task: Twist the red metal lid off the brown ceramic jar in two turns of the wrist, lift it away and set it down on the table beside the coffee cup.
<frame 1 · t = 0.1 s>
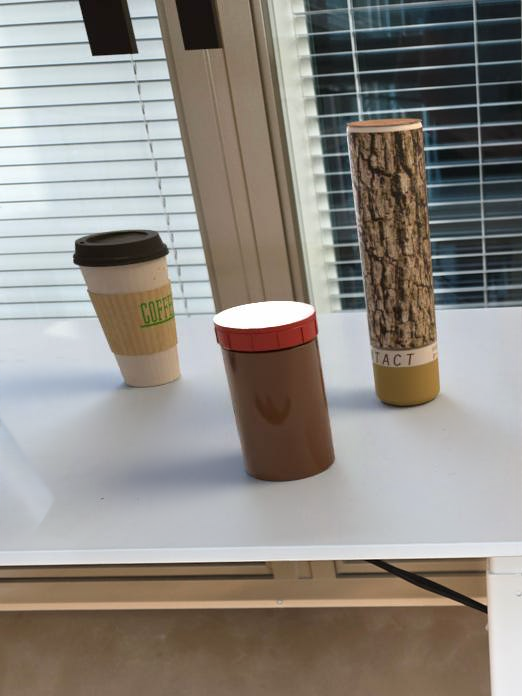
hand: (164, 52, 60), 31 cm above the table, tool pointing down, fingers open, 13 cm apart
paper tube: (408, 398, 93), on the table
lid: (265, 319, 73), point 13 cm above the table, screwed on, not yet turned
jar: (290, 462, 80), on the table
coffee cup: (153, 379, 102), on the table
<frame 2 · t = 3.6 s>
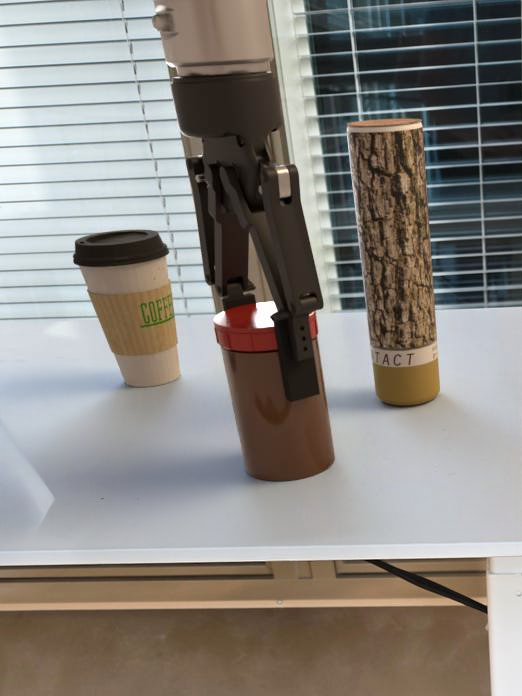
hand: (277, 384, 76), 7 cm above the table, tool pointing down, fingers closed on lid, 8 cm apart
lid: (265, 319, 73), point 13 cm above the table, screwed on, not yet turned, touching gripper
everything else where it was.
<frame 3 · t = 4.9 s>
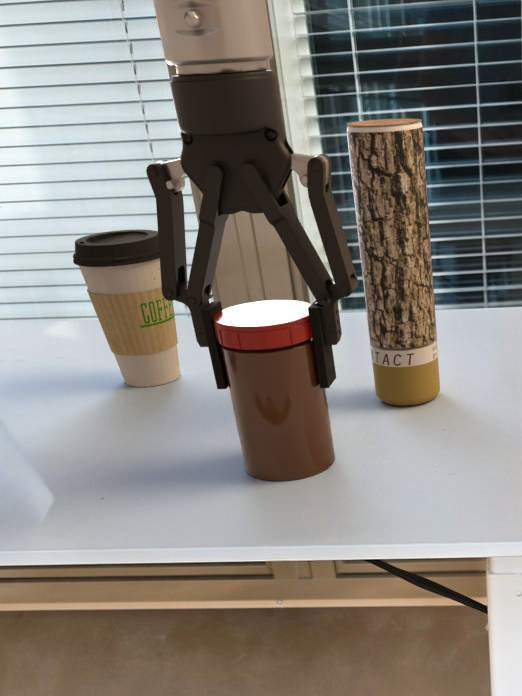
hand: (277, 383, 76), 7 cm above the table, tool pointing down, fingers closed on lid, 8 cm apart
lid: (265, 317, 73), point 13 cm above the table, turned 45° so far, risen 0.1 cm, still on its thread, touching gripper
everything else where it was.
when the fingers open (7 cm above the table, at t = 6.0 s): lid stays where it is, point 13 cm above the table.
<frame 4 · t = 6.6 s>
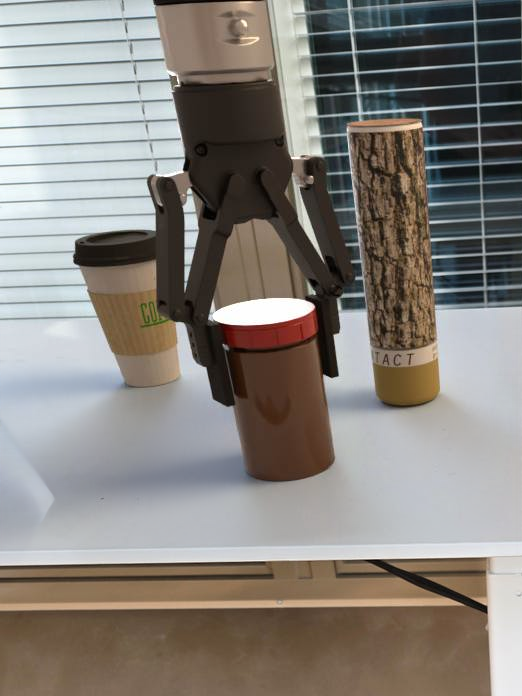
hand: (277, 387, 76), 7 cm above the table, tool pointing down, fingers open, 9 cm apart
lid: (265, 316, 73), point 13 cm above the table, turned 90° so far, risen 0.2 cm, still on its thread
everything else where it was.
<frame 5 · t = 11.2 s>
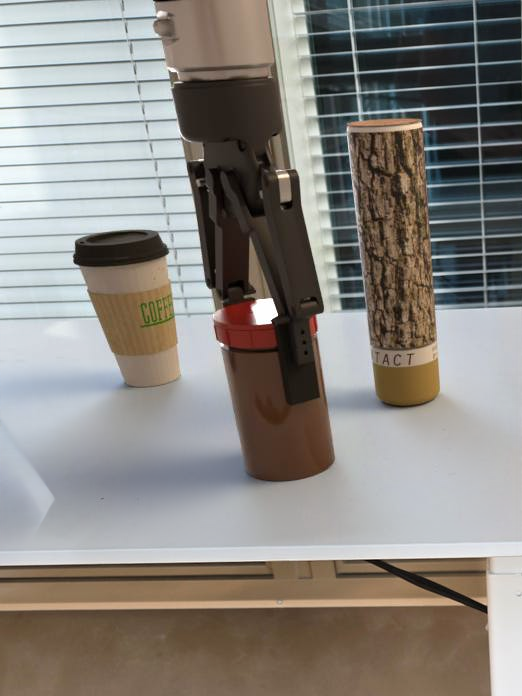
hand: (277, 387, 76), 7 cm above the table, tool pointing down, fingers closed on lid, 8 cm apart
lid: (265, 316, 73), point 13 cm above the table, turned 90° so far, risen 0.2 cm, still on its thread, touching gripper
everything else where it was.
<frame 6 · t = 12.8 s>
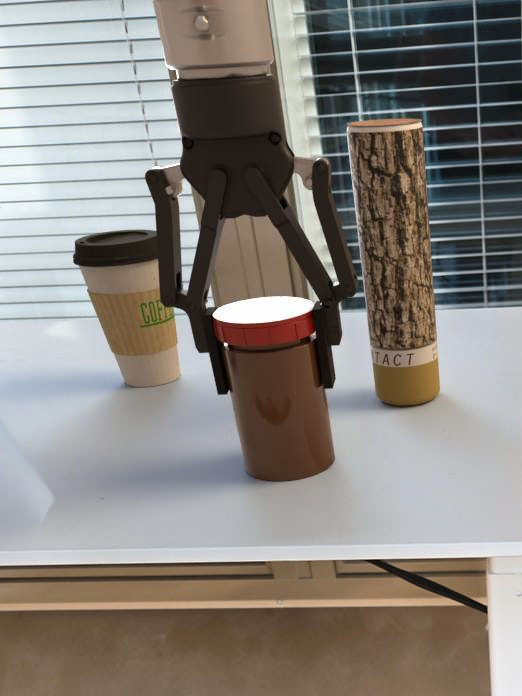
hand: (277, 386, 76), 7 cm above the table, tool pointing down, fingers closed on lid, 8 cm apart
lid: (264, 314, 72), point 13 cm above the table, turned 142° so far, risen 0.4 cm, still on its thread, touching gripper
everything else where it was.
when the fingers open (1 cm above the table, at t = 20.9 s): lid drops 5 cm, point 1 cm above the table.
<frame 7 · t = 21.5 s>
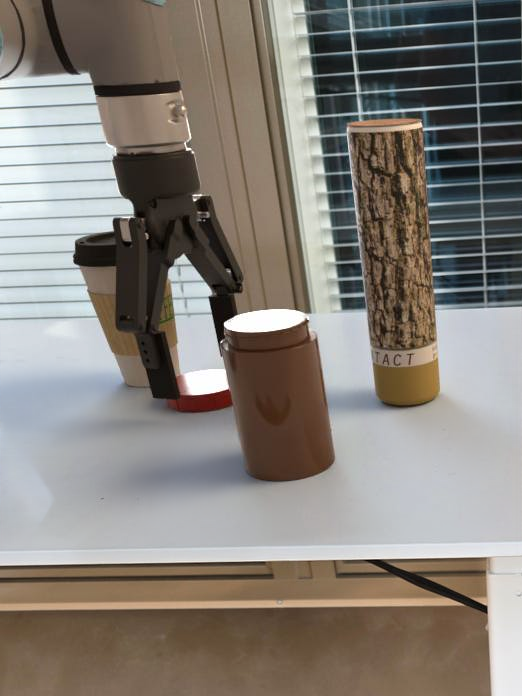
hand: (202, 376, 94), 2 cm above the table, tool pointing down, fingers open, 13 cm apart
lid: (204, 385, 94), point 1 cm above the table, off its thread
everything else where it was.
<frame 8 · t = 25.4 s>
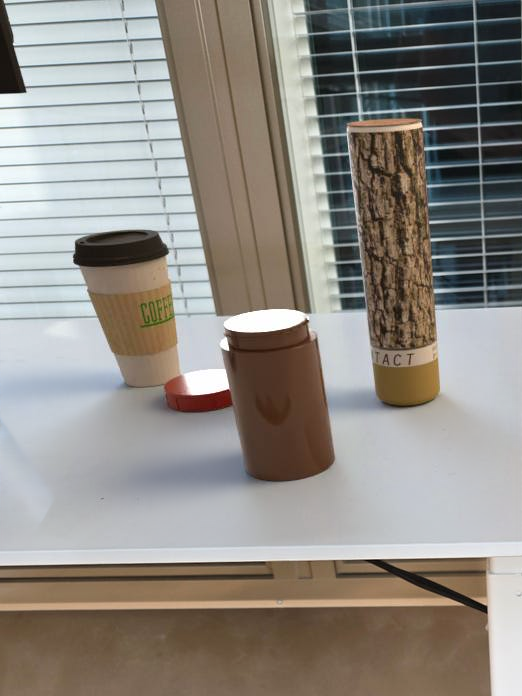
nothing on the table moved.
at the end: lid came off its thread; lid inside the target area on the table beside the coffee cup (0.1 cm from its centre), point 1.6 cm above the table; the gripper is holding nothing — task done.
